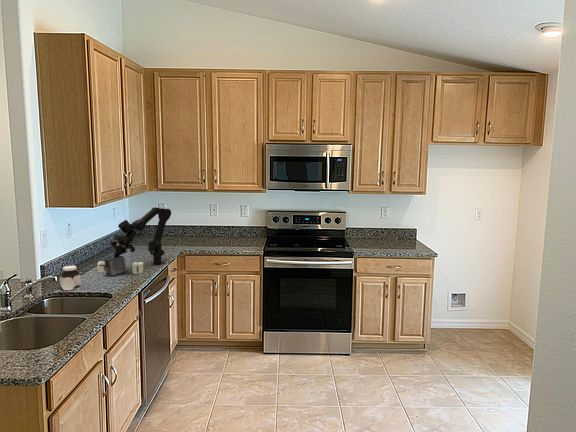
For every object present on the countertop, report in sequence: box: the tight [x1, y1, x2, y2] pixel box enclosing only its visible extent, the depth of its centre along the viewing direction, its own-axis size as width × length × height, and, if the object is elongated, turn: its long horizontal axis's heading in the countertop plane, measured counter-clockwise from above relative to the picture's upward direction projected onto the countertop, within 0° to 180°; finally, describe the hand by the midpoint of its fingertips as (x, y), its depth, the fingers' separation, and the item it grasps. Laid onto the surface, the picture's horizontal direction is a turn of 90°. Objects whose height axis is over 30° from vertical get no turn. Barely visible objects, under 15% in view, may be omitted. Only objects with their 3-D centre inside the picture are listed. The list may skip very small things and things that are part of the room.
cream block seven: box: [96, 260, 106, 273], centre depth 289 cm, size 6×6×6 cm
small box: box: [103, 255, 127, 277], centre depth 281 cm, size 11×6×10 cm, turn 140°
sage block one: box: [131, 261, 144, 275], centre depth 287 cm, size 6×6×6 cm
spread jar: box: [59, 265, 82, 292], centre depth 251 cm, size 12×11×12 cm
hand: (114, 257), depth 280 cm, fingers closed, pressing on small box
